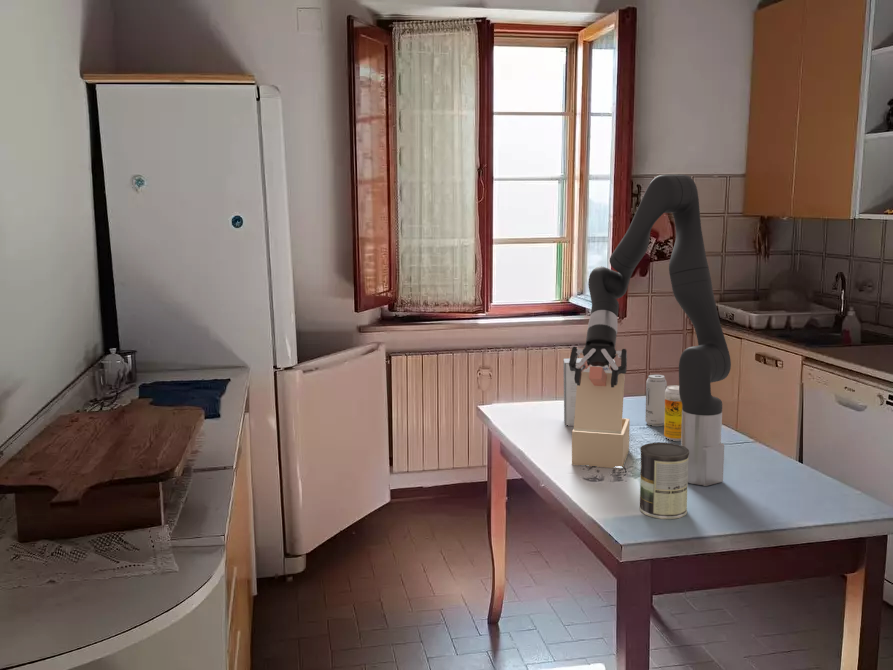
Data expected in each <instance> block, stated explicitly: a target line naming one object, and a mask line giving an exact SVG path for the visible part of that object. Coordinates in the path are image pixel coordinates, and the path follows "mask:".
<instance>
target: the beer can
mask: <svg viewBox="0 0 893 670" xmlns="http://www.w3.org/2000/svg"><path fill="white" fill-rule="evenodd" d="M663 427H664V428H663V437H665V439H666V438H667V439H666V440H668V439H669V440H668V441H671V440H673V442H681V432H682V402H681V399H680V395H679V385H677V384H676V385H674V384H673V385H672V384H671V385H667V388H666V390H665V418H664V425H663Z"/></svg>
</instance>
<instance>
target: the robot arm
mask: <svg viewBox="0 0 893 670" xmlns="http://www.w3.org/2000/svg"><path fill="white" fill-rule="evenodd" d="M663 214H672V215H673V220H674V221H673V222H674V224H675V225H674V226H675V242H674V246H673V248H672V252H671V255H670V258H669V262H668V263H669V264H668V273H669V278H670V283H671V289H672V293H673V295H674V298H675V299H676V302H677V303H678V305H679V306H680V308H681V309H682V310H683V312H684V313H685V314H686V315H687V317H688V318H689V320H690V321H691V323H692V326H693V327H694V331H695V334H696V335H695V336H696V339H697V344H698V345H695V346H693V345H692V346H689V347H686V348H685V349H683V351H682V353H681V354H680V357H679V362H678V386H679V395H680V399H681V402H682V432H681V441H680V445H681V446H684V447H686V448H687V449H688V450H689V456H688V484H692V485H699V486H702V487H703V486H704V487H707V486H708V487H709V486H712V485H716V484H719V483H723V482H724V465H725V464H724V462H725V444H724V443H722V425H723V424H722V422H723V402H722V400H721V399H720V398H718V397H716V396H713V395H712V391H711V390H712V389H711V384H712V383H716V382H720V381H723V380H725V379H726V378H727V377H728V376H729V375H730V371H731V369H732V368H731V367H732V359H731V356H730V351H729V348H728V344H727V341H726V337H725V335H724V332H723V331H724V330H723V328H722V325H721V321H720V318H719V313H718V309H717V308H718V307H717V304H716V299H715V295H714V288H713V284H712V282H713V281H712V278H711V273H710V267H709V262H708V259H707V254H706V249H705V243H704V242H705V241H704V236H703V229H702V225H701V224H702V222H701V210H700V199H699V192H698V187H697V184H696V183H695V181H694V179H693V178H692V177H691V176H689V175H687V174H680V173H679V174H660V175H657V176H655V177H654V178H653V179H652V180H651V181H650V183H649V184H648V186H647V187H646V190H645V192H644V193H643V196H642V198H641V201H640V203H639V205H638V207H637V209H636V212H635V214H634V216H633V218H632V221H631V223H630V224H629V227H628V228H627V230H626V233H624V235H623V237H622V239H621V240H620V241H619V243H618V244H617V246H616V247H615V249H614V251H613V252H612V254H611V255H610V257H609V264H610V266H611V267H612V268H613V269H614V270H613V269H611V268H608V267H606V266H600V265H599V266H596V267H595V268H593V269H592V270H591V272H590V273H589V276H588V289H589V290H588V291H589V296H590V301H591V311H590V316H589V320H588V324H587V331H586V339H585V345H584V347H583V349H582V348H578V347H577V346H572V348H571V352H570V361H569V367H570V371H575V377H574V380H575V383H577V385H578V386H580V383H581V376H582V371H584V370H585V369H587V368H588V367H589V366H590V365H592V366H601V367H605V366H606V365H607V366H608V368H609V369H610V370H611V371H612V376H611V387H613V388H614V385H617V382H618V375H619V374H625V375H626V373H627V371H628V370H627V369H628V368H627V367H628V352H627V351H628V350H627V349H626V348H622V349H621V350H616V344H617V337H618V336H617V334H618V318H619V310H620V309H619V308H620V304H619V301H618V299H620V298H622V297H623V296H624V295H626V293H627V290H628V288H629V285H630V281H631V278H632V275H633V273H634V271H635V269H636V267H637V266H638V265H639V263H640V261H642V259H643V257H644V256H645V255H646V252H647V251H648V248H649V245H650V240H651V239H650V238H651V231H652V229H653V227H654V224H655V223H656V222H657V221H658V220H659V218H660V217H661V216H663ZM581 356H583V357H581ZM617 357H618V359H619V360H620V366H618V365H617V363H616V364H615V363H614V361H615V358H617ZM577 358H582V359H581V361H580V362H579V363H578V364H577V365H576V361H577ZM613 359H614V361H613Z"/></svg>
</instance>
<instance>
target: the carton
mask: <svg viewBox="0 0 893 670" xmlns="http://www.w3.org/2000/svg"><path fill="white" fill-rule="evenodd" d="M630 423H631V421H630V418H623V417H622V431H621V434H617V433H603V432H589V431H575V430H574V428H573V429H572V431H571V465H572V466H580V465H589V466H588V467H592V466H597V467H596V468H605V469H614V468H613V467H615V466H622V467H623V466H625V464H624V463H626V460H627V457H628V454H629V451H630ZM623 468H624V467H623Z"/></svg>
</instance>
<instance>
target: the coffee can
mask: <svg viewBox="0 0 893 670" xmlns="http://www.w3.org/2000/svg"><path fill="white" fill-rule="evenodd" d="M688 456H689V450H688V449H687V448H686V447H684V446H681V444H678V443H672V442H649V443H646V444H643V445H641V446H640V477H639V479H640V481H639V483H640V485H639V488H640V489H639V511H640V512H641V513H642V514H643V515H646V516H648V517H650V518H654V519H660V520H675V519H681V518H683V517H685V516H687V513H688V510H687V509H688V508H687V507H688V487H689V486H688V484H689V483H688Z"/></svg>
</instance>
